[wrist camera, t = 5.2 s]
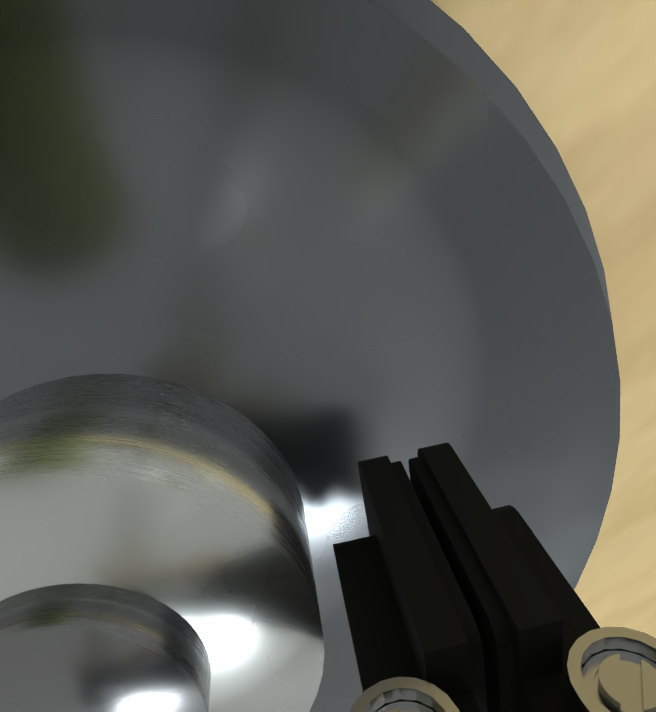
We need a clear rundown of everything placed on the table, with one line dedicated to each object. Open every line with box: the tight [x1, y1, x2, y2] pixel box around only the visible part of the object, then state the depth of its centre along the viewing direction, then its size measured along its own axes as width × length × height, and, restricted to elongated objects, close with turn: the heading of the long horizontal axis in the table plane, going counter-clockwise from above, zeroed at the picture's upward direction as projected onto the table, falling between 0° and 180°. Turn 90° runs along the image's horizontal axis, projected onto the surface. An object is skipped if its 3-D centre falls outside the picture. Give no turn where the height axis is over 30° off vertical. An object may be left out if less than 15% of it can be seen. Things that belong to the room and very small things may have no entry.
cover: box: [0, 374, 324, 712], centre depth 9 cm, size 7×7×4 cm
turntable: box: [0, 0, 620, 712], centre depth 10 cm, size 20×20×6 cm
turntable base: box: [369, 0, 613, 326], centre depth 13 cm, size 22×22×1 cm
